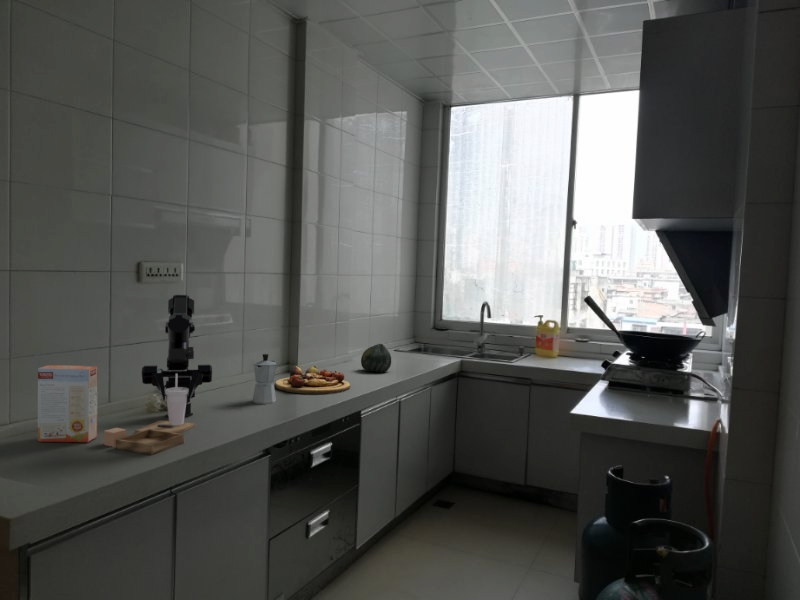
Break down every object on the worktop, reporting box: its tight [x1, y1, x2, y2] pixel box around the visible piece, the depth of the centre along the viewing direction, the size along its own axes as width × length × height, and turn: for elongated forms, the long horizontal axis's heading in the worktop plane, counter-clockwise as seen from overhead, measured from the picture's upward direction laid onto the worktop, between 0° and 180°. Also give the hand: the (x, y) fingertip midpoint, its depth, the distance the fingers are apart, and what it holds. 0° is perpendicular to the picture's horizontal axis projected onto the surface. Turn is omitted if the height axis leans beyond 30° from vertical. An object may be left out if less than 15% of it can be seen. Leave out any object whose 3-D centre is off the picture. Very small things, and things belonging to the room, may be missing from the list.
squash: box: [360, 343, 392, 373], centre depth 302 cm, size 14×15×15 cm
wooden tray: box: [115, 429, 185, 456], centre depth 169 cm, size 12×12×2 cm
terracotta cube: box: [103, 427, 127, 448], centre depth 169 cm, size 4×4×4 cm
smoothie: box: [164, 374, 189, 425], centre depth 170 cm, size 6×6×14 cm
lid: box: [134, 419, 196, 434], centre depth 186 cm, size 12×12×1 cm
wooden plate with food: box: [274, 365, 351, 395], centre depth 259 cm, size 32×32×8 cm
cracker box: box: [37, 364, 98, 443], centre depth 171 cm, size 14×6×21 cm, turn 92°
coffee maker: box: [252, 353, 277, 405], centre depth 229 cm, size 15×9×18 cm, turn 168°
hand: (176, 399), depth 168 cm, fingers closed on smoothie, 6 cm apart
